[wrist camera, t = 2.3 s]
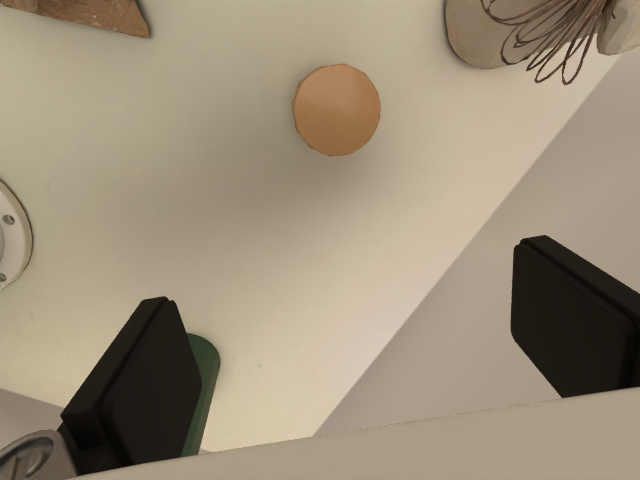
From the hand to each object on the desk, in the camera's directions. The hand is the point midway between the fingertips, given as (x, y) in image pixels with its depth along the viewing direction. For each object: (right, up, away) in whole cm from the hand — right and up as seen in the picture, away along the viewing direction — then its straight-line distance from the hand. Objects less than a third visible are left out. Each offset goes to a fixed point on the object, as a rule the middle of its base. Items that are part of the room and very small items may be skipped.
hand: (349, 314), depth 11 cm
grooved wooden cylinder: (0, +13, +20) cm, 24 cm away
